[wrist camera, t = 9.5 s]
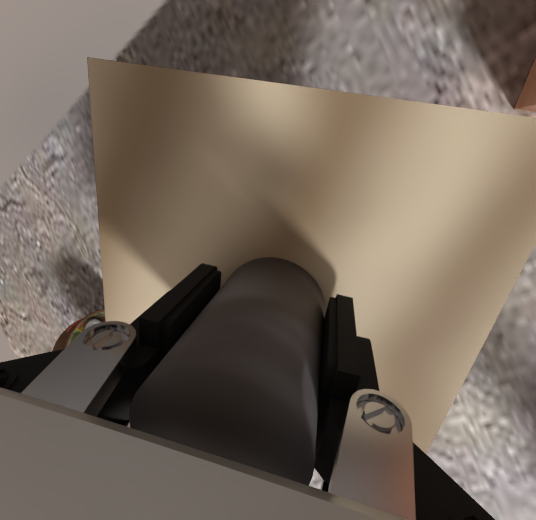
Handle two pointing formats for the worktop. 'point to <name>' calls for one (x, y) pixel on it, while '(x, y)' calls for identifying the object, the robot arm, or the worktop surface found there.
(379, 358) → the lid
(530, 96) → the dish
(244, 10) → the worktop surface
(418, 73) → the worktop surface
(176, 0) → the worktop surface
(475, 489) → the worktop surface
